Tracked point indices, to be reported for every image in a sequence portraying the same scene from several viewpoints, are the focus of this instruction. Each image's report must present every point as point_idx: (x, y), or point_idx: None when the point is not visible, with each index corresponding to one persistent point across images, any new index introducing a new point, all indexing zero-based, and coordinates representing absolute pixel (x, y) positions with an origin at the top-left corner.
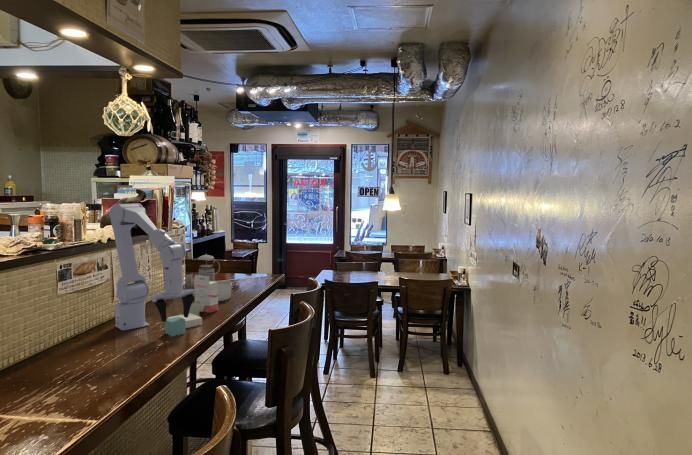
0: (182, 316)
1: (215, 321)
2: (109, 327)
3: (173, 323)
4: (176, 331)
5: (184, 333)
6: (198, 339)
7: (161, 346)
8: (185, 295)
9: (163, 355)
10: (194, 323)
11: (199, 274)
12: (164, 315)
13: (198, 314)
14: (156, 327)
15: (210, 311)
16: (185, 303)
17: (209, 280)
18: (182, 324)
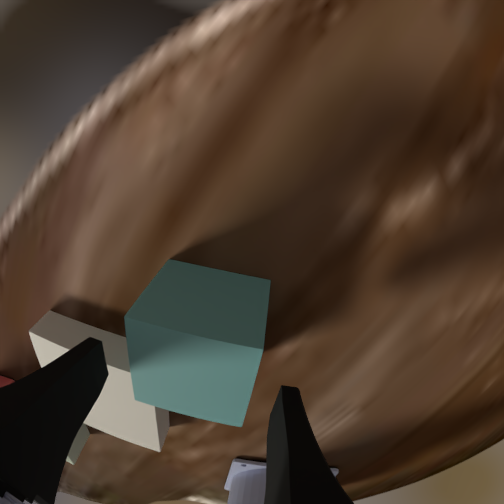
0: (100, 416)
1: (4, 296)
2: None
3: (238, 334)
4: (226, 287)
5: (175, 262)
6: (181, 68)
7: (438, 157)
8: (6, 498)
9: (498, 27)
10: (74, 332)
11: None
12: (303, 430)
13: None
14: (226, 434)
15: (10, 382)
16: (42, 439)
17: None
18: (163, 301)
